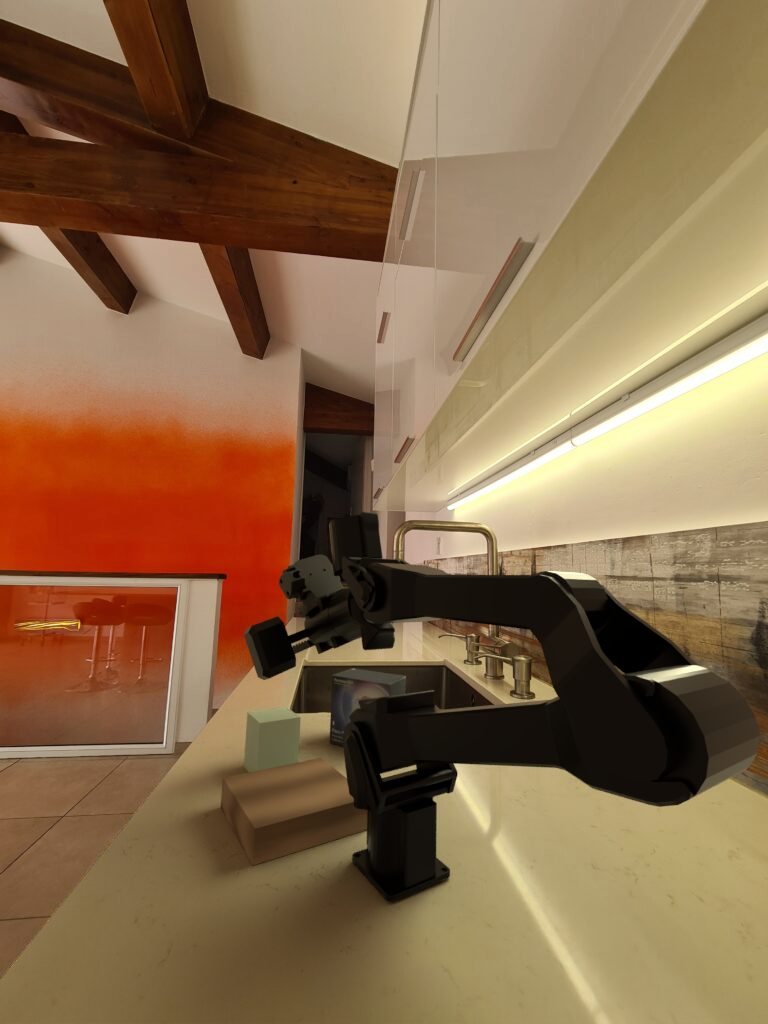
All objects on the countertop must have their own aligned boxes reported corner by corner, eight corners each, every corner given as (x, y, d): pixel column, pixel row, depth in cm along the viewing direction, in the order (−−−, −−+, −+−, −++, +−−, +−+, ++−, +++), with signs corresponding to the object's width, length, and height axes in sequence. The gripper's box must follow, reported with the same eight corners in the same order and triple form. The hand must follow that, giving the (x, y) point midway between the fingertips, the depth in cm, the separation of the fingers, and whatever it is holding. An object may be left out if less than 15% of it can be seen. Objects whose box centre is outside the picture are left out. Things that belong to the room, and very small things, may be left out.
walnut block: (369, 829, 46) (370, 797, 47) (252, 865, 40) (254, 828, 40) (320, 783, 56) (321, 757, 57) (220, 806, 50) (222, 777, 50)
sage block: (297, 773, 59) (300, 717, 60) (256, 782, 56) (259, 723, 57) (282, 759, 64) (285, 706, 65) (243, 766, 61) (247, 711, 62)
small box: (326, 744, 70) (329, 673, 71) (348, 732, 75) (351, 667, 77) (387, 758, 65) (389, 682, 66) (406, 744, 71) (407, 674, 72)
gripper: (384, 532, 59) (330, 567, 71) (251, 570, 47) (212, 604, 59) (418, 613, 57) (356, 635, 69) (287, 673, 45) (239, 688, 57)
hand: (296, 638), depth 63 cm, fingers open, 9 cm apart
